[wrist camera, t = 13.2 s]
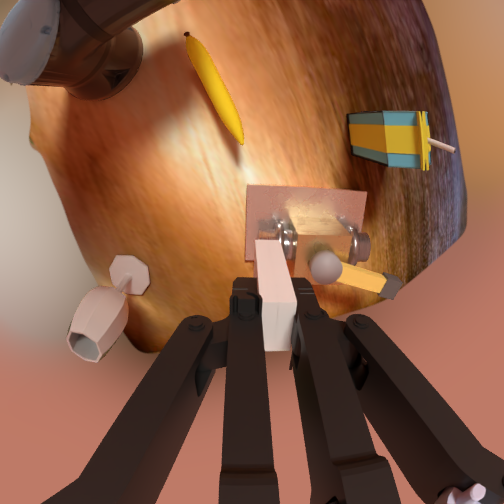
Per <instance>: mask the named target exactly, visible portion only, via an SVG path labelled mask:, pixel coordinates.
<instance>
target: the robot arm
mask: <svg viewBox="0 0 504 504" xmlns="http://www.w3.org/2000/svg"><path fill="white" fill-rule="evenodd" d="M179 1H180V0H19V1H18V2H17V3H16V5H15V6H14V7H13V8H12V9H11V11H10V12H9V14H8V15H7V17H6V18H5V20H4V22H3V24H2V26H1V28H0V77H1V78H2V79H3V80H5V81H7V82H10V83H18V84H20V85H24V86H26V85H37V86H56V87H64V88H65V89H66V90H67V91H68V92H69V93H70V94H72V95H73V96H74V97H76V98H79V99H82V100H89V101H99V100H103V99H107V98H109V97H111V96H113V95H115V94H117V93H118V92H119V91H121V90H122V89H123V88H124V87H125V86H126V85H127V84H128V83H129V82H130V81H131V80H132V78H133V77H134V75H135V74H136V72H137V70H138V68H139V66H140V63H141V60H142V55H143V43H142V39H141V37H140V35H139V33H138V32H137V30H136V29H135V28H133V27H132V25H134V24H135V23H137V22H139V21H140V20H142V19H144V18H146V17H147V16H149V15H151V14H153V13H155V12H156V11H158V10H160V9H162V8H164V7H166V6H168V5H170V4H176V3H178V2H179ZM291 344H292V356H291V361H290V367H289V370H292V366H293V372H294V378H295V384H296V390H297V397H298V402H299V409H300V414H301V421H302V428H303V434H304V441H305V447H306V453H307V461H308V468H309V474H310V481H311V498H310V504H401V501H400V498H399V494H398V491H397V487H396V484H395V480H394V477H393V473H392V471H391V467H390V465H389V463H388V460H387V459H386V458H385V457H383V456H379V455H378V454H377V453H376V451H375V448H374V445H373V441H372V438H371V436H370V432H369V429H368V426H367V423H366V420H365V417H364V414H365V416H366V417H367V419H368V420H369V422H370V423H371V425H372V426H373V428H374V430H375V431H376V433H377V434H378V436H379V437H380V439H381V440H382V442H383V443H384V445H385V446H386V448H387V449H388V451H389V453H390V454H391V456H392V457H393V459H394V460H395V462H396V464H397V465H398V467H399V468H400V470H401V471H402V473H403V474H404V476H405V477H406V479H407V481H408V482H409V484H410V485H411V487H412V488H413V490H414V491H415V492H416V494H417V495H418V496H419V497H420V498H421V500H422V501H423V502H424V503H425V504H503V503H504V460H503V459H501V458H500V457H498V456H497V455H495V454H493V453H492V452H490V451H489V450H487V449H485V448H484V447H482V445H481V444H480V443H479V441H478V440H477V439H476V438H475V436H474V435H473V434H472V433H471V431H470V430H469V429H468V428H467V427H466V425H465V424H464V423H463V422H462V420H461V419H460V418H459V417H458V416H457V414H456V413H455V412H454V411H453V410H452V408H451V407H450V406H449V405H448V404H447V402H446V401H445V400H444V399H443V398H442V397H441V396H440V394H439V393H438V392H437V391H436V390H435V388H434V387H433V386H432V385H431V384H430V383H429V382H428V380H427V379H426V378H425V377H424V376H423V375H422V373H421V372H420V371H419V370H418V369H417V368H416V367H415V366H414V365H413V363H412V362H411V361H410V360H409V359H408V358H407V357H406V356H405V354H404V353H403V352H402V351H401V350H400V349H399V348H398V347H397V346H396V344H395V343H394V342H393V341H392V340H391V339H390V338H389V337H388V336H387V335H386V334H385V333H384V331H383V330H382V329H381V328H380V327H379V326H378V325H377V324H376V323H375V322H374V321H373V320H372V319H371V318H370V317H368V316H365V315H361V314H353V315H351V316H349V317H348V318H347V319H346V322H343V321H338V320H334V319H331V318H329V316H328V314H327V312H326V311H325V310H323V309H322V308H320V307H319V304H318V301H317V298H316V296H315V294H314V291H313V288H312V285H311V283H310V282H309V281H308V280H307V279H306V278H305V277H290V274H289V271H288V267H287V264H286V260H285V256H284V253H283V249H282V246H281V242H280V240H255V255H254V278H247V277H237V278H236V280H235V281H234V282H233V289H232V295H231V297H230V314H229V316H228V317H227V318H225V319H223V320H221V321H217V322H212V321H211V320H210V319H209V318H207V317H205V316H201V315H194V316H189V317H187V318H185V319H184V320H183V321H182V322H181V323H180V324H179V326H178V327H177V329H176V330H175V332H174V333H173V335H172V336H171V337H170V339H169V340H168V342H167V343H166V345H165V346H164V348H163V349H162V351H161V352H160V354H159V355H158V357H157V358H156V360H155V361H154V363H153V364H152V366H151V368H150V369H149V370H148V372H147V373H146V375H145V376H144V378H143V379H142V381H141V382H140V384H139V385H138V387H137V388H136V390H135V392H134V393H133V394H132V396H131V397H130V399H129V400H128V402H127V403H126V405H125V406H124V408H123V409H122V411H121V413H120V414H119V415H118V417H117V419H116V420H115V422H114V423H113V425H112V426H111V428H110V429H109V431H108V432H107V434H106V436H105V437H104V439H103V440H102V442H101V443H100V445H99V446H98V448H97V449H96V451H95V453H94V454H93V456H92V458H91V459H90V461H89V462H88V464H87V465H86V467H85V468H84V470H83V472H82V473H81V475H80V476H79V478H78V479H76V480H75V481H74V482H72V483H71V484H69V485H68V486H66V487H65V488H64V489H62V490H61V491H59V492H58V493H56V494H55V495H53V496H52V497H50V498H49V499H47V500H46V501H44V502H43V503H41V504H155V503H156V501H157V499H158V497H159V494H160V492H161V490H162V488H163V486H164V484H165V482H166V480H167V477H168V475H169V473H170V471H171V469H172V467H173V464H174V462H175V460H176V458H177V456H178V454H179V451H180V449H181V447H182V444H183V443H184V440H185V438H186V436H187V434H188V432H189V429H190V427H191V425H192V423H193V421H194V418H195V416H196V414H197V412H198V409H199V407H200V405H201V402H202V401H203V398H204V396H205V394H206V392H207V389H208V387H209V385H210V383H211V380H212V378H213V376H214V374H215V369H217V368H222V367H226V366H227V368H226V384H225V403H224V422H223V444H222V467H221V472H220V481H219V504H280V501H279V489H278V479H277V474H276V472H275V469H274V460H273V449H272V436H271V422H270V410H269V398H268V387H267V373H266V361H265V351H289V350H290V347H291Z"/></svg>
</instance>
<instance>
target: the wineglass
mask: <svg viewBox="0 0 504 504" xmlns="http://www.w3.org/2000/svg"><path fill="white" fill-rule="evenodd" d="M109 270H110V275H111V280H112V284H113V285H114V286H116V287H117V288H116V289H115V288H113V287H107V286H97V287H96V288H94V289H92V290H90V291H89V292H88V293H87V294H86V296H85V297H84V298H83V299H82V301H81V302H80V305H79V306H78V308H77V310H76V312H75V315H74V317H73V319H72V321H71V324H70V326H69V330H68V333H67V337H66V340H67V343H68V345H69V347H70V350H71V351H72V352H73V353H75V354H76V355H77V356H79V357H80V358H82V359H83V360H85V361H91V362H96V363H98V362H99V361H100V360H101V359H102V358H103V357H105V356H106V354H107V353H108V352H109V350H110V349H111V348H112V346H113V345H114V344H115V342H116V341H117V339H118V338H119V336H120V335H121V333H122V331H123V329H124V327H125V325H126V324H127V321H128V313H129V308H128V304H127V299H126V296H124V295H123V294H122V292H124V293H126V294H137V295H142V294H143V292H144V291H145V289H146V288H147V287H148V285H149V284H150V277H149V270H148V266H147V265H146V264H145V263H143V262H142V261H140V260H139V259H138V258H136V257H135V256H133V255H116V257H115V259H114V261H113V262H112V264H111V266H110V268H109Z"/></svg>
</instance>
